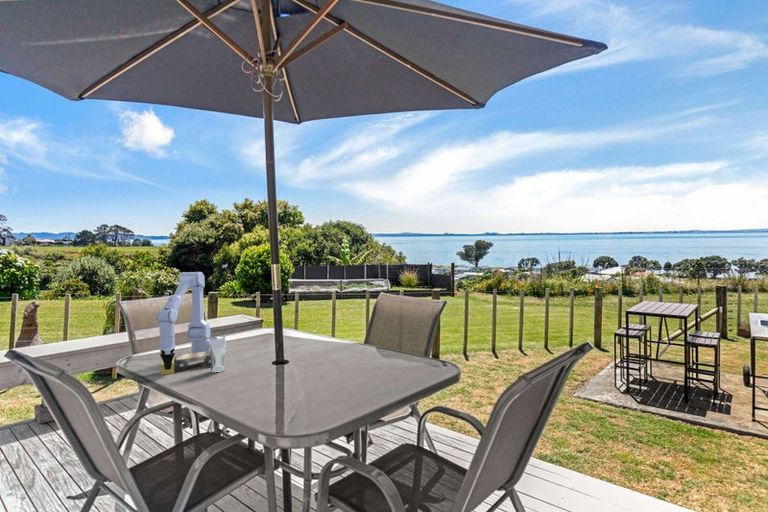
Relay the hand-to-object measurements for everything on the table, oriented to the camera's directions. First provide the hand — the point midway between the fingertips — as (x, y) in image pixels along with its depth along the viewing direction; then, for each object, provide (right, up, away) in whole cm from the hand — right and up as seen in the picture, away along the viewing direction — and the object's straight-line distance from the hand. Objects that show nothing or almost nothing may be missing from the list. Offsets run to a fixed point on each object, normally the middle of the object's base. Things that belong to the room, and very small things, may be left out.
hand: (167, 367), depth 172 cm
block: (0, -3, 0) cm, 3 cm away
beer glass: (+22, -2, +1) cm, 22 cm away
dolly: (+7, -2, +10) cm, 13 cm away
